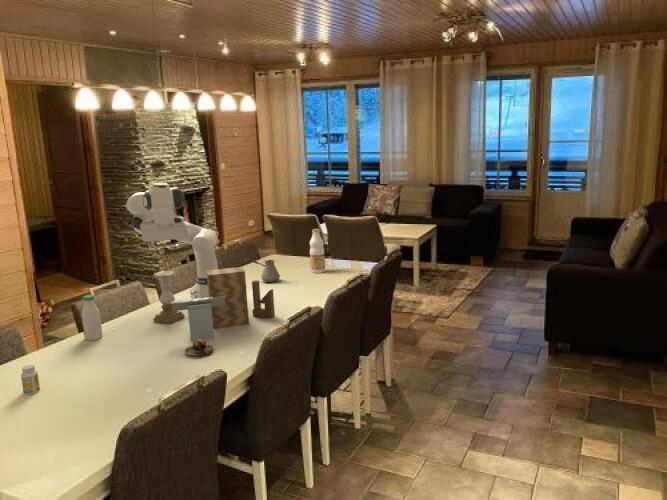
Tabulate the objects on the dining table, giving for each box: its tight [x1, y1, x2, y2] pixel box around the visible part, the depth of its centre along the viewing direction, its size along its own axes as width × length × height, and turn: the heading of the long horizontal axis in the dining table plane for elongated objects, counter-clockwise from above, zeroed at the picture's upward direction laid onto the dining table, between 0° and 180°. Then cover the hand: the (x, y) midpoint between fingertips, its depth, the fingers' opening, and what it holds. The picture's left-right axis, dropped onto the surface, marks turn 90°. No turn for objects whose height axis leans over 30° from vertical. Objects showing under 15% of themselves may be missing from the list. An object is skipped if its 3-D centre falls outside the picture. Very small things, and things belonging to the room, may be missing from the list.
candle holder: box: [152, 270, 186, 325], centre depth 280 cm, size 11×11×24 cm
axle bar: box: [172, 295, 225, 311], centre depth 252 cm, size 23×4×4 cm, turn 106°
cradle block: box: [187, 303, 215, 342], centre depth 254 cm, size 10×8×16 cm
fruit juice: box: [309, 228, 326, 274], centre depth 366 cm, size 9×9×28 cm
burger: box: [184, 335, 215, 358], centre depth 236 cm, size 12×12×8 cm
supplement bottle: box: [20, 364, 41, 396], centre depth 205 cm, size 5×5×10 cm
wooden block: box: [251, 279, 276, 319], centre depth 279 cm, size 4×11×18 cm, turn 67°
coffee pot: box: [244, 257, 281, 283], centre depth 349 cm, size 21×12×15 cm, turn 81°
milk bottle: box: [81, 294, 103, 341], centre depth 258 cm, size 8×8×20 cm
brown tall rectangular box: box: [207, 266, 250, 330], centre depth 270 cm, size 17×10×26 cm, turn 106°
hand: (167, 249), depth 256 cm, fingers open, 8 cm apart
